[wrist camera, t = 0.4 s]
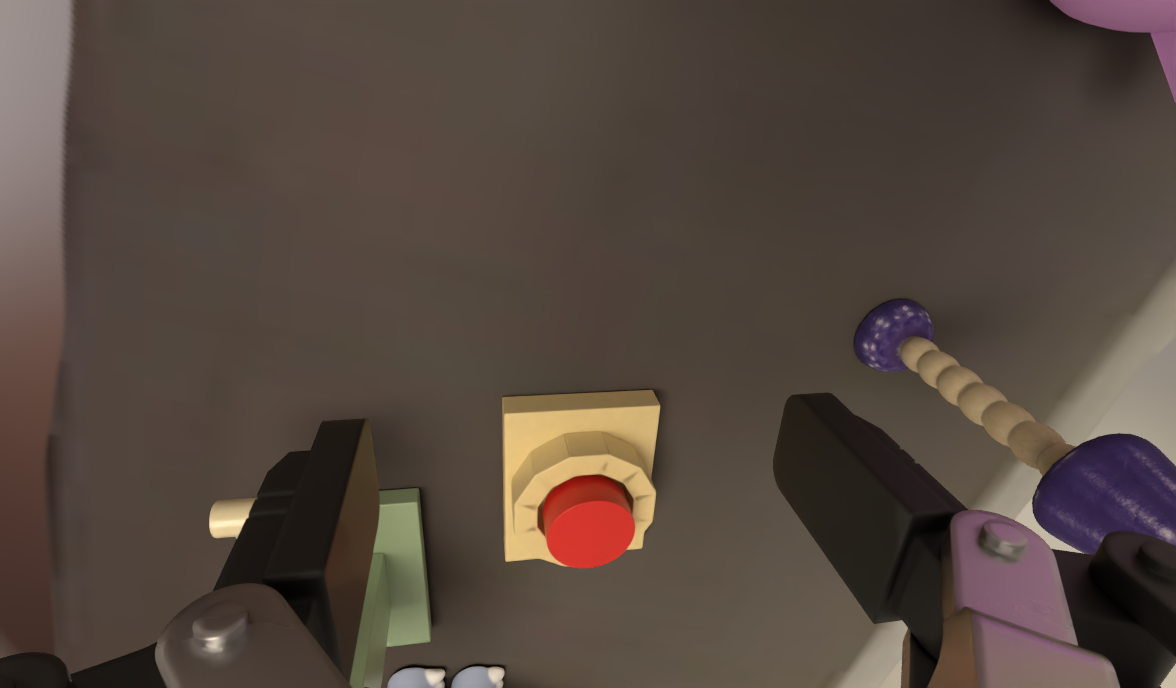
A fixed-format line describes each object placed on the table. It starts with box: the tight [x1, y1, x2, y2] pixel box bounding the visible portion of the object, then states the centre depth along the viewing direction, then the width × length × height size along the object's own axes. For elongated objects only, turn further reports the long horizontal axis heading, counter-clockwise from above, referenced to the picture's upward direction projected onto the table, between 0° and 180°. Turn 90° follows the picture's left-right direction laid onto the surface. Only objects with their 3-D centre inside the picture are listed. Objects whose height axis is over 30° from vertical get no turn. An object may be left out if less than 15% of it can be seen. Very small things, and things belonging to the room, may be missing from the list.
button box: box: [502, 390, 660, 566], centre depth 32 cm, size 10×8×4 cm
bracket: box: [236, 488, 432, 688], centre depth 29 cm, size 11×9×13 cm
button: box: [542, 475, 635, 568], centre depth 30 cm, size 4×4×2 cm
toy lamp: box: [854, 299, 1176, 555], centre depth 26 cm, size 5×5×17 cm
